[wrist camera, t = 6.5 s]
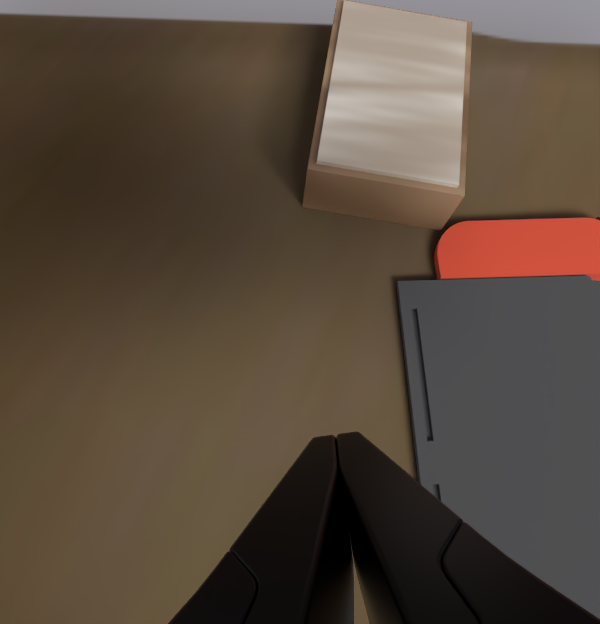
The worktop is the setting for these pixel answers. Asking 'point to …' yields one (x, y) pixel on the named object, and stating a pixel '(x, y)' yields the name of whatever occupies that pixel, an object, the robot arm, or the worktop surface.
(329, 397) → the worktop surface
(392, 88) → the tan wooden block
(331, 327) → the worktop surface
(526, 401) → the gaming console
